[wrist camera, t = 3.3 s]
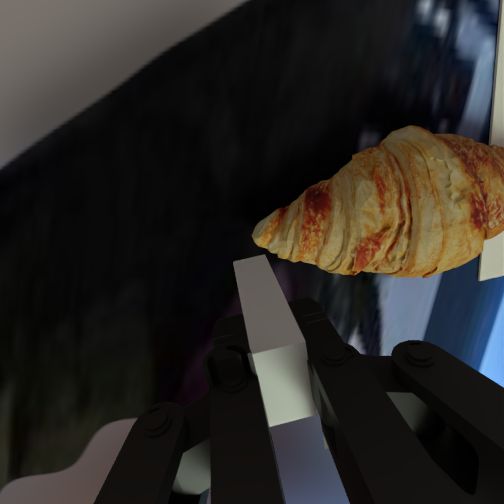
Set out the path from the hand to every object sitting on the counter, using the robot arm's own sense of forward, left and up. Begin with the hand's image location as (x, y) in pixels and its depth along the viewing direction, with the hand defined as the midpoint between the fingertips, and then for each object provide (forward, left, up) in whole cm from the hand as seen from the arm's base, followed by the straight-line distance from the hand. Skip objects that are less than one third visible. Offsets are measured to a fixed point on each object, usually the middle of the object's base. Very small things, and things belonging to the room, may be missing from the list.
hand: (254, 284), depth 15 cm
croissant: (-11, 0, -9) cm, 15 cm away
